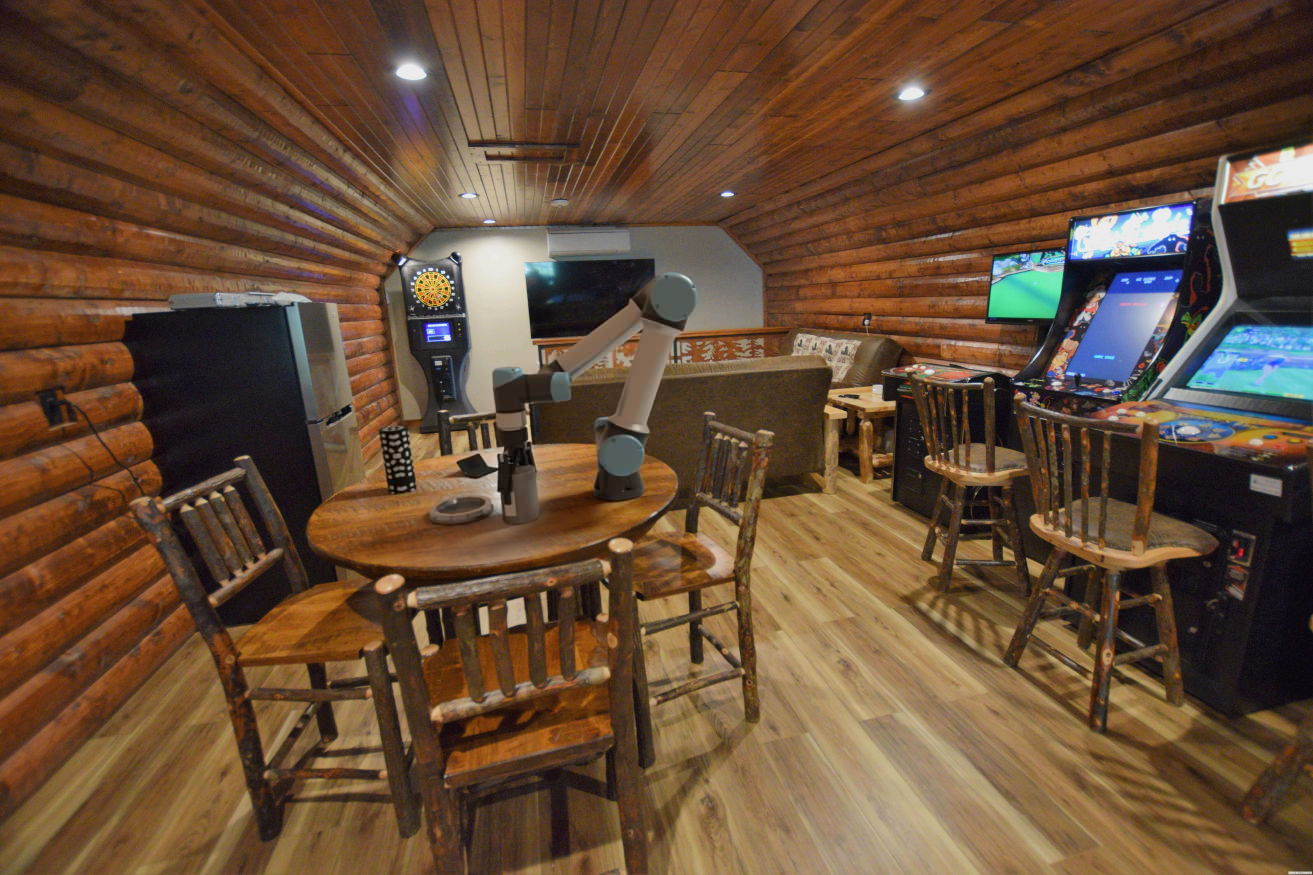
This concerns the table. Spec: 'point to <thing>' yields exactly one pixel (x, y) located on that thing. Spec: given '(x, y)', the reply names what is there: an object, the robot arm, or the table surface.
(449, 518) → the ring plate
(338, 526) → the table surface
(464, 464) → the handheld gaming console
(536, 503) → the pillar candle
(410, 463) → the white-spotted black cylinder
